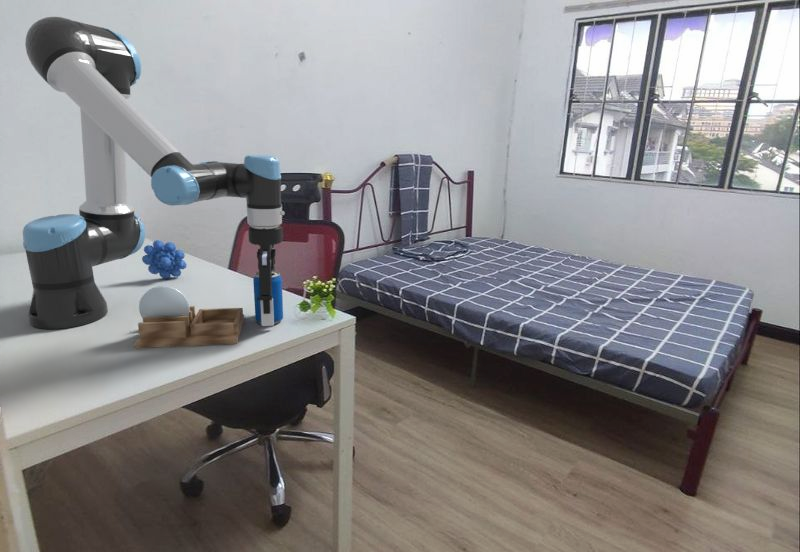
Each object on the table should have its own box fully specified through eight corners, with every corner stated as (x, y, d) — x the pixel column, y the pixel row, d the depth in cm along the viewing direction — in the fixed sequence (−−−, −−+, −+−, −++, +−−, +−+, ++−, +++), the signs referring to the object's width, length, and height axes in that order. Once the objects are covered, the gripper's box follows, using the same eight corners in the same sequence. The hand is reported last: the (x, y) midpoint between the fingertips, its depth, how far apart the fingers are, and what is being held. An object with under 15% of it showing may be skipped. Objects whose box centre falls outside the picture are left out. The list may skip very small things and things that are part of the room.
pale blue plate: (141, 330, 101) (136, 287, 98) (143, 329, 102) (137, 286, 99) (190, 329, 103) (186, 286, 100) (191, 327, 104) (187, 285, 101)
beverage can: (288, 319, 113) (287, 273, 110) (269, 328, 108) (267, 279, 105) (269, 314, 117) (267, 268, 113) (249, 322, 111) (246, 274, 108)
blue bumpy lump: (145, 285, 133) (140, 244, 130) (144, 278, 139) (139, 239, 135) (189, 280, 139) (185, 241, 135) (186, 274, 144) (183, 236, 141)
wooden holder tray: (135, 348, 96) (132, 327, 95) (155, 321, 109) (153, 303, 108) (236, 343, 100) (235, 323, 99) (244, 318, 113) (243, 300, 112)
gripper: (279, 235, 96) (283, 335, 102) (284, 216, 116) (286, 300, 123) (241, 236, 94) (248, 336, 101) (253, 216, 115) (257, 301, 122)
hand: (269, 316), depth 112 cm, fingers open, 9 cm apart
